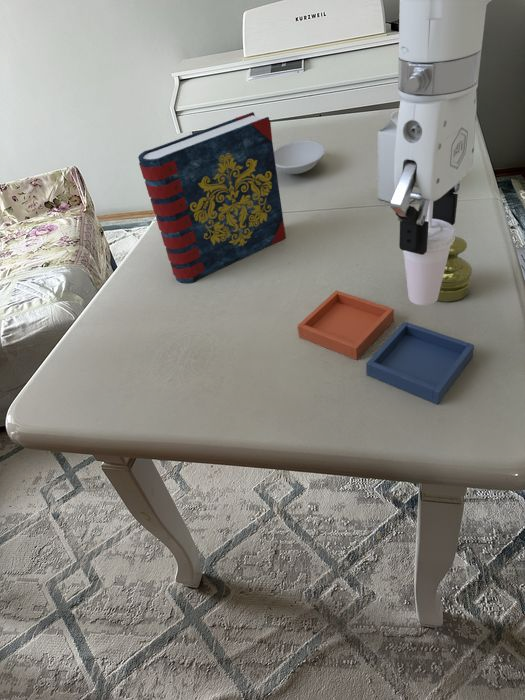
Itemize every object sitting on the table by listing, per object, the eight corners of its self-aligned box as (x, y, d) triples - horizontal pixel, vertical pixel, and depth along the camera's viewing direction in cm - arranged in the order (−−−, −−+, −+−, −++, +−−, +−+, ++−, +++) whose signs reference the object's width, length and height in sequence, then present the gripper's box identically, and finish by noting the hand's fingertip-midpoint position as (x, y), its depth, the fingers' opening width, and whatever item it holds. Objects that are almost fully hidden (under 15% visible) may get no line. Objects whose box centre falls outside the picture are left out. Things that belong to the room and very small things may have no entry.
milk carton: (377, 199, 117) (377, 111, 105) (397, 187, 120) (399, 100, 108) (403, 207, 112) (406, 116, 100) (423, 194, 116) (428, 104, 103)
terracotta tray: (393, 320, 84) (393, 308, 83) (356, 360, 79) (356, 348, 77) (336, 301, 91) (336, 290, 89) (298, 336, 85) (297, 325, 83)
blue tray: (472, 357, 76) (474, 344, 74) (437, 404, 70) (439, 392, 68) (403, 332, 82) (404, 321, 80) (366, 375, 76) (366, 363, 75)
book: (183, 288, 101) (146, 164, 85) (168, 274, 106) (130, 154, 90) (287, 238, 110) (271, 117, 94) (269, 228, 114) (251, 110, 98)
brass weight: (426, 276, 92) (429, 225, 86) (471, 279, 89) (478, 227, 83) (419, 300, 87) (422, 248, 81) (466, 305, 85) (473, 251, 78)
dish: (323, 184, 127) (322, 164, 124) (266, 188, 130) (263, 169, 127) (328, 156, 140) (327, 137, 137) (276, 160, 143) (274, 142, 140)
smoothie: (456, 289, 68) (467, 187, 59) (438, 316, 64) (447, 213, 55) (409, 279, 71) (413, 181, 62) (389, 304, 68) (391, 205, 59)
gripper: (432, 105, 44) (421, 281, 55) (512, 49, 53) (488, 211, 64) (356, 100, 48) (361, 264, 60) (442, 48, 57) (432, 200, 69)
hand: (427, 235), depth 62 cm, fingers closed on smoothie, 6 cm apart
